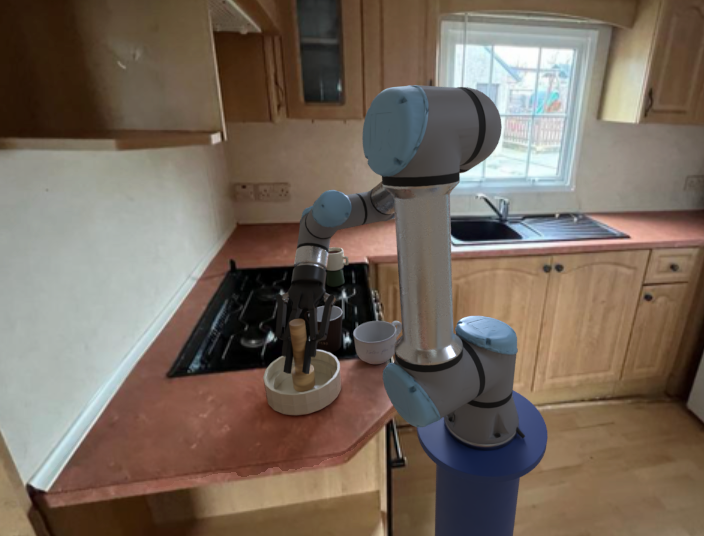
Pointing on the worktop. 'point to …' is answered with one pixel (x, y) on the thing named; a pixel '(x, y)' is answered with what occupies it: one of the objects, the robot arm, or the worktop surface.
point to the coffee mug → (330, 329)
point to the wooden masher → (300, 357)
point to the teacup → (376, 340)
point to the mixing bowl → (305, 402)
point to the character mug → (336, 266)
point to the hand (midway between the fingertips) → (296, 372)
